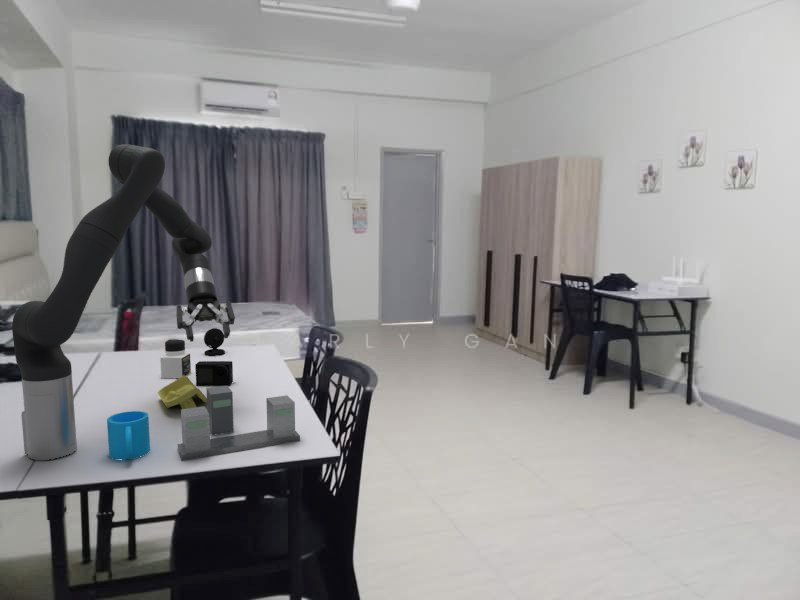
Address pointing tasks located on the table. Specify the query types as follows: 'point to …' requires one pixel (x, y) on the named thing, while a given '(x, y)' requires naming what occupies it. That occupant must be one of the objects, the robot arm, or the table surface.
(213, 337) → the webcam
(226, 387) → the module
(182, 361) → the medicine bottle
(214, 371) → the digital camera
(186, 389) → the plastic component
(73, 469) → the table surface
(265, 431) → the rail
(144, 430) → the mug
